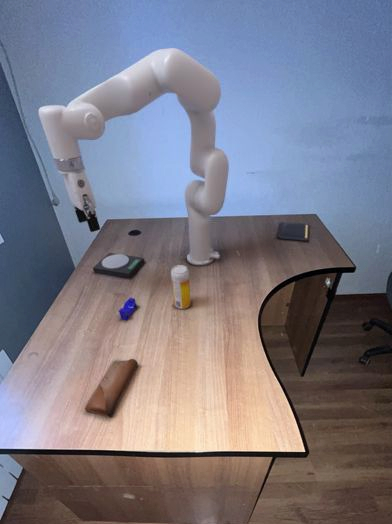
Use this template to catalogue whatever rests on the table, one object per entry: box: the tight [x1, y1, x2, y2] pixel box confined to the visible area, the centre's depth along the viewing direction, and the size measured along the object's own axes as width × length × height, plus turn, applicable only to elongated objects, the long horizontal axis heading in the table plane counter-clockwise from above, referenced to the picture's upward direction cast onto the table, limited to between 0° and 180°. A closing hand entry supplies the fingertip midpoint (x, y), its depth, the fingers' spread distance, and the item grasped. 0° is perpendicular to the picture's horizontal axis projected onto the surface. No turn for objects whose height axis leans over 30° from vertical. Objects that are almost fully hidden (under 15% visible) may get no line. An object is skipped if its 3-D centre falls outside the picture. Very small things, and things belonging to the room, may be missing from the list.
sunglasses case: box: [84, 358, 139, 418], centre depth 74 cm, size 18×7×7 cm
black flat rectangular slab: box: [277, 221, 310, 243], centre depth 138 cm, size 20×2×15 cm
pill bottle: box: [170, 264, 191, 310], centre depth 94 cm, size 6×6×15 cm
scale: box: [92, 252, 146, 279], centre depth 119 cm, size 18×14×3 cm
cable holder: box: [118, 297, 138, 321], centre depth 96 cm, size 8×4×4 cm, turn 161°
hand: (89, 225), depth 88 cm, fingers open, 9 cm apart
